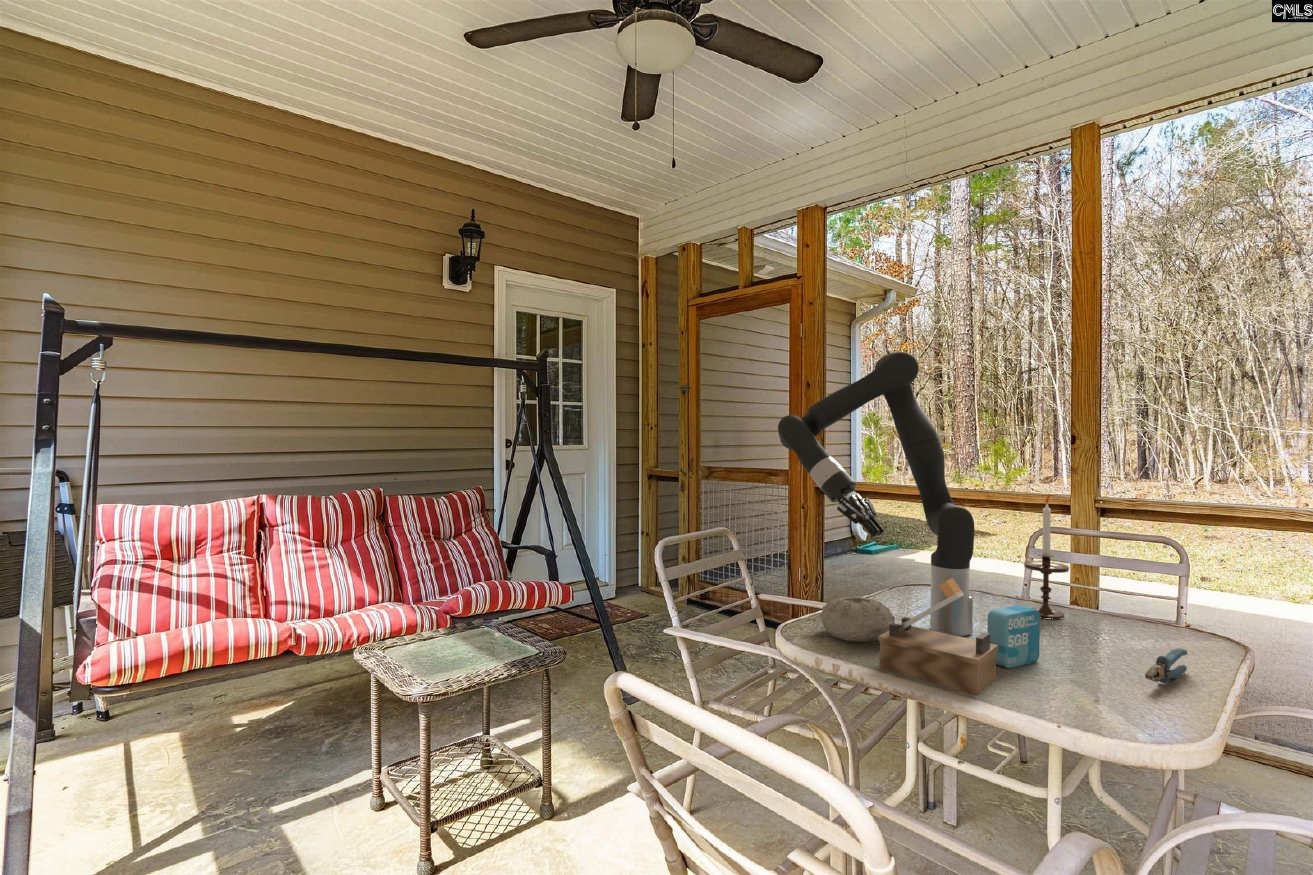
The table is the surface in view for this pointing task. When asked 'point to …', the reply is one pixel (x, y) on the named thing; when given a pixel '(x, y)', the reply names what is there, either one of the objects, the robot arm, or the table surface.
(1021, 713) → the table surface
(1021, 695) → the table surface
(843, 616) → the grey rounded stone lump
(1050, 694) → the table surface
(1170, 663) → the pliers
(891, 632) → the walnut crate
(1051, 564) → the candlestick
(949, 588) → the latch bar
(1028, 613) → the data package
